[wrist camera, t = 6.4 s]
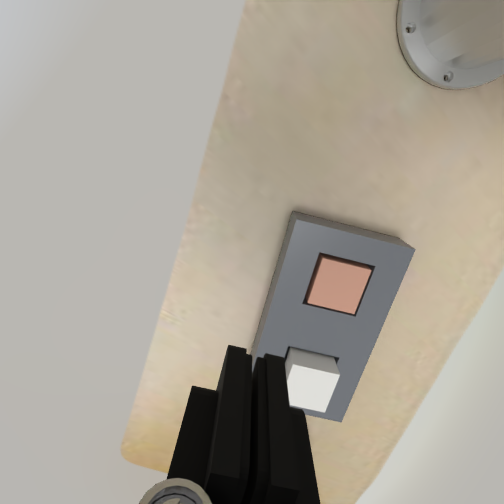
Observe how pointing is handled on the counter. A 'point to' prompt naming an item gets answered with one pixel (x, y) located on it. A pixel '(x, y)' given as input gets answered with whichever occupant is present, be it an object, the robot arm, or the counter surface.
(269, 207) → the counter surface
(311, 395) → the off-white key
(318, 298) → the terracotta key
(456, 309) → the counter surface
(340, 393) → the key panel
